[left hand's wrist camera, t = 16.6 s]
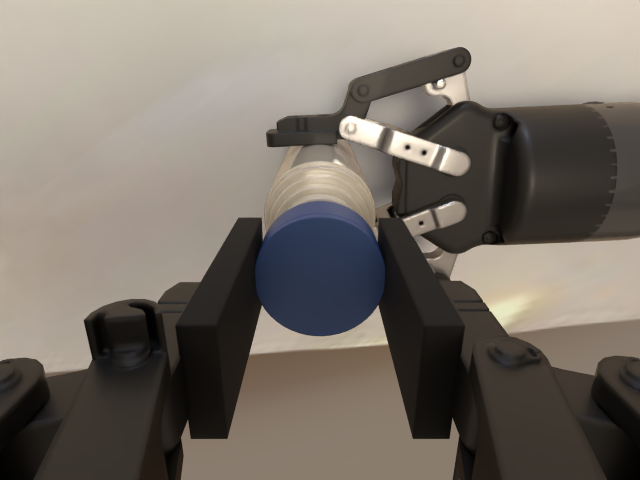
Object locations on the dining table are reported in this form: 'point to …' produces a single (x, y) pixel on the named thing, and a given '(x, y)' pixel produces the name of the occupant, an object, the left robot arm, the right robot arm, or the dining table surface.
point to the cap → (320, 269)
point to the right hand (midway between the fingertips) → (273, 188)
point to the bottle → (320, 181)
